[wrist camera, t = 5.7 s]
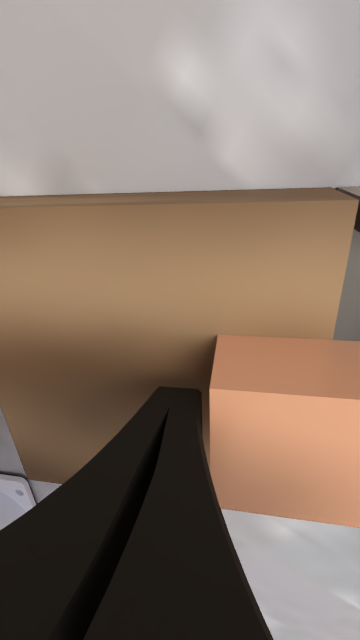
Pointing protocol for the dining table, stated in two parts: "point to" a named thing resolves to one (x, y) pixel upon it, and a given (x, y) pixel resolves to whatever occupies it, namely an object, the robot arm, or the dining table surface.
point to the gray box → (350, 283)
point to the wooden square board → (150, 301)
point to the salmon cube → (287, 427)
